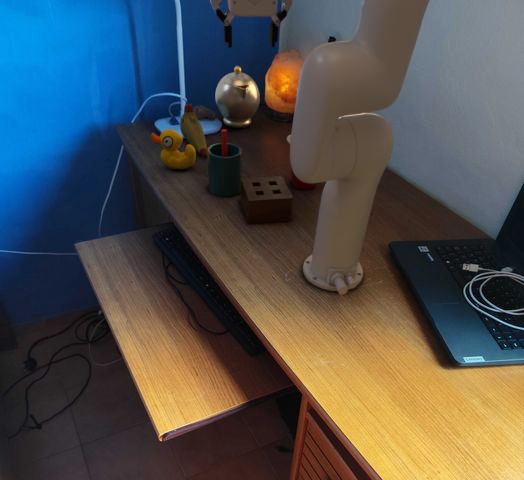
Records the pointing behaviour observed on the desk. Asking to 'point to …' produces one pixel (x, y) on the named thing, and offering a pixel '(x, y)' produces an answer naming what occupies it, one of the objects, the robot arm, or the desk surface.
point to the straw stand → (266, 199)
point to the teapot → (237, 98)
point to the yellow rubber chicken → (193, 130)
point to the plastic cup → (295, 180)
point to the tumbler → (224, 170)
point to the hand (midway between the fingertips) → (250, 45)
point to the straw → (224, 143)
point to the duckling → (174, 150)
